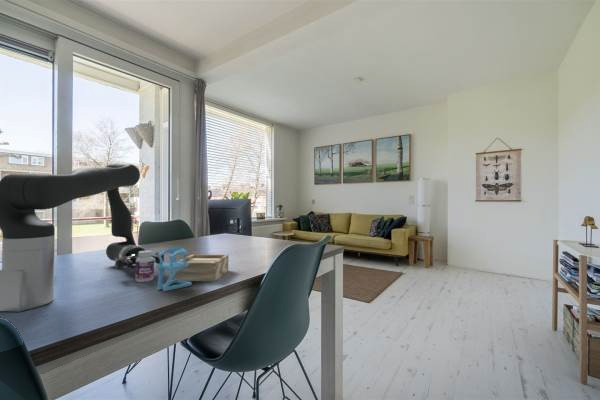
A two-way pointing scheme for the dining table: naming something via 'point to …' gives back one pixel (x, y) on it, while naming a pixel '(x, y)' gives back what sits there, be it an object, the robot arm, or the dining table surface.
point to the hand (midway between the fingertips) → (146, 263)
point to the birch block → (203, 268)
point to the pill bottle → (144, 267)
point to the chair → (172, 269)
